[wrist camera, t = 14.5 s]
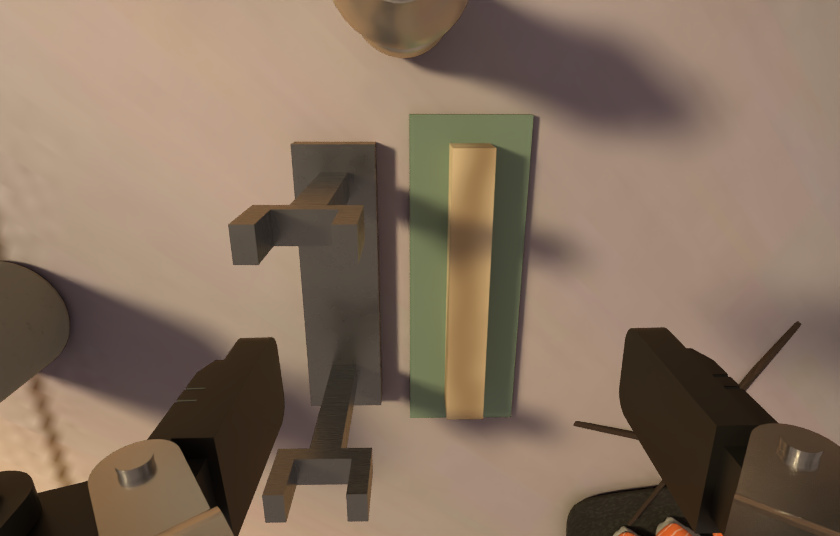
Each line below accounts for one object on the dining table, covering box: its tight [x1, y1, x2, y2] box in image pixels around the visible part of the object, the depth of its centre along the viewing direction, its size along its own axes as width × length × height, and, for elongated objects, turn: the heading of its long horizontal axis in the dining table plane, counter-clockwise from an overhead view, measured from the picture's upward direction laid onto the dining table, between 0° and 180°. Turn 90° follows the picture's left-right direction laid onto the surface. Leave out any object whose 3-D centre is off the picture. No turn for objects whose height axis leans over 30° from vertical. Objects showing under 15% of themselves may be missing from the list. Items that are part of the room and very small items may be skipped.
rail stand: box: [228, 142, 382, 523], centre depth 35 cm, size 6×22×16 cm, turn 0°
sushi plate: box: [566, 321, 801, 536], centre depth 49 cm, size 29×30×4 cm
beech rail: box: [444, 143, 497, 419], centre depth 41 cm, size 3×22×3 cm, turn 0°
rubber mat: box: [409, 114, 534, 418], centre depth 42 cm, size 9×26×1 cm, turn 0°
